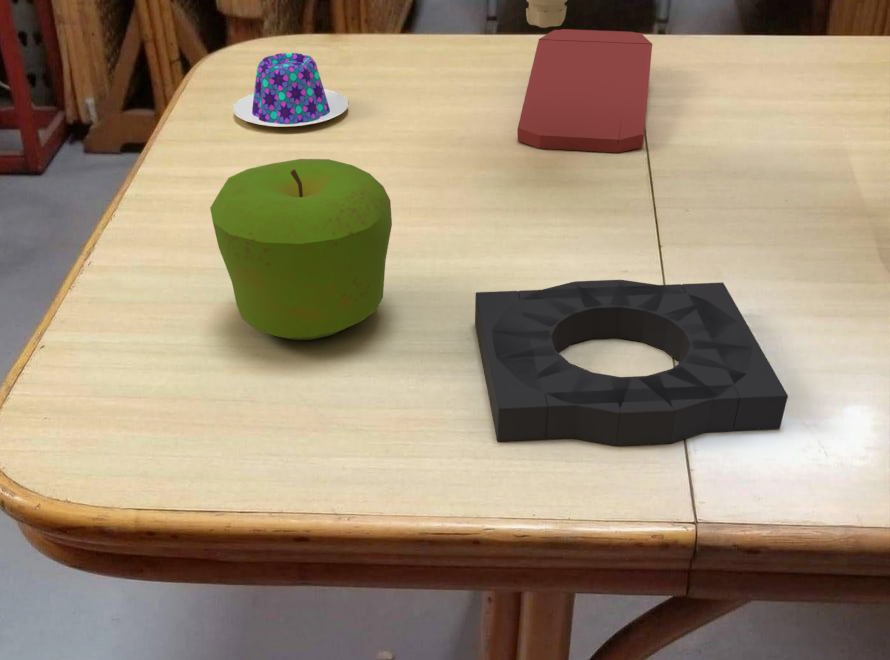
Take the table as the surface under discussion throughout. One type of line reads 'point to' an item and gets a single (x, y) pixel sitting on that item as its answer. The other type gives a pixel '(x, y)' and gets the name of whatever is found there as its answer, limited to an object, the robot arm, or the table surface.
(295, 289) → the apple
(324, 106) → the pudding
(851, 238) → the table surface
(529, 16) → the handle
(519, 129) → the red chamfered slab
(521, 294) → the black plate with hole
